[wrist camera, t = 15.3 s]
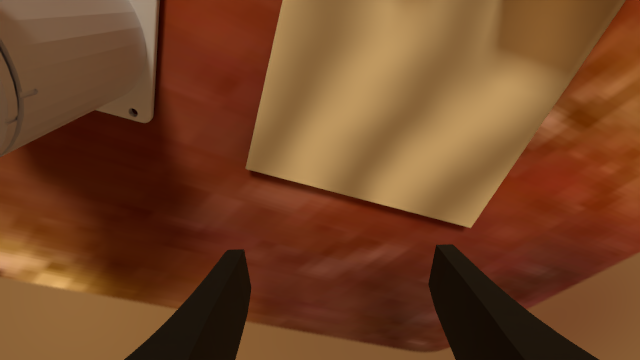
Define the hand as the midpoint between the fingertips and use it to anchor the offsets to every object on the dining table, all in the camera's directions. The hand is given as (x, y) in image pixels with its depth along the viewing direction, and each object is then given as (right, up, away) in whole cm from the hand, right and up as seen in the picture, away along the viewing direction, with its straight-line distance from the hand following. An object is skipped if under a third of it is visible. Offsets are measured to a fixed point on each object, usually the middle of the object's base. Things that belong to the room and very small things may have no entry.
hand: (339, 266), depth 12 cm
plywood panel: (+5, +11, +5) cm, 13 cm away
